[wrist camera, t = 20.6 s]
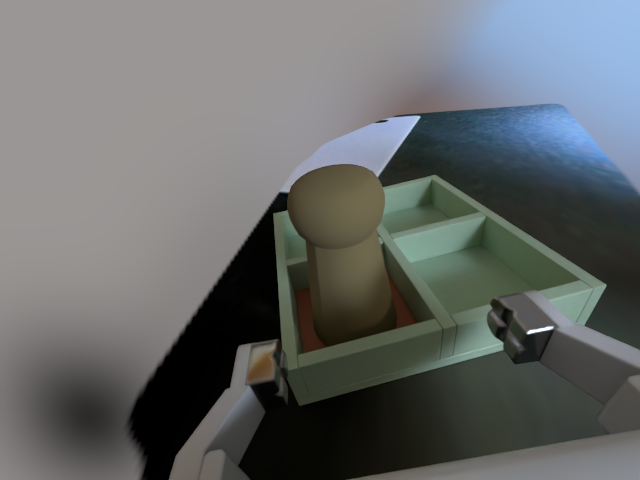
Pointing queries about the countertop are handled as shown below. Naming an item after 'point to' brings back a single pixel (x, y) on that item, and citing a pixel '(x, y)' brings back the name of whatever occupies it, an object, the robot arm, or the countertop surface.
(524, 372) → the countertop surface
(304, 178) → the cork
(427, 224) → the compartment tray
